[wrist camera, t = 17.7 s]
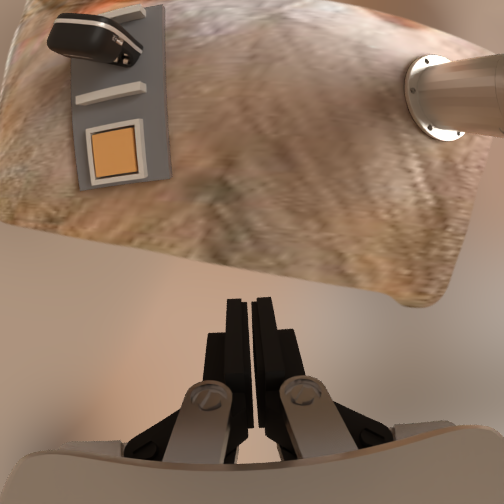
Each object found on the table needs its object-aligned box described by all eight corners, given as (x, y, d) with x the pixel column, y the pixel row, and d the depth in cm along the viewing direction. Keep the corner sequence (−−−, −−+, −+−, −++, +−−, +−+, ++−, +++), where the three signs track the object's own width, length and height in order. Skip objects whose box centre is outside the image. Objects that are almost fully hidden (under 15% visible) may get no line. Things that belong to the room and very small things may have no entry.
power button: (134, 127, 30) (131, 127, 29) (138, 170, 32) (135, 171, 31) (96, 134, 30) (91, 135, 29) (100, 175, 32) (96, 177, 31)
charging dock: (165, 8, 26) (157, -4, 23) (172, 176, 35) (165, 182, 31) (77, 30, 26) (63, 23, 22) (85, 188, 34) (70, 195, 31)
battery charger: (86, 65, 27) (34, 48, 16) (98, 38, 26) (51, 11, 15) (134, 75, 28) (93, 55, 18) (147, 46, 27) (112, 15, 17)
